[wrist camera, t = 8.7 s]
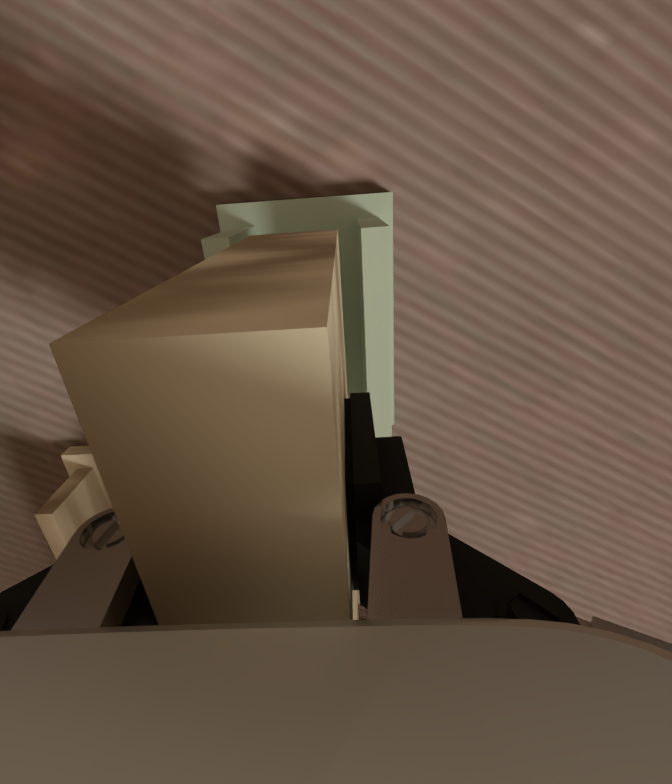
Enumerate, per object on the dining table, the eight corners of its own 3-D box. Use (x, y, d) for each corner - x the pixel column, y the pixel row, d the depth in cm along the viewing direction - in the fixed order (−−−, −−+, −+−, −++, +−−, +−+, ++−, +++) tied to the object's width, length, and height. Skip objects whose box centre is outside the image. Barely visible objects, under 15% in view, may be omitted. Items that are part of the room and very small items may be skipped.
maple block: (337, 229, 14) (327, 326, 4) (352, 468, 19) (363, 785, 9) (250, 235, 14) (48, 344, 4) (285, 471, 19) (222, 787, 9)
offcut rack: (359, 431, 25) (362, 484, 21) (366, 591, 31) (371, 658, 27) (70, 446, 26) (13, 500, 22) (132, 599, 32) (98, 666, 28)
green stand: (390, 191, 20) (408, 193, 14) (392, 415, 25) (406, 479, 19) (221, 204, 20) (176, 209, 14) (258, 422, 25) (235, 486, 20)
